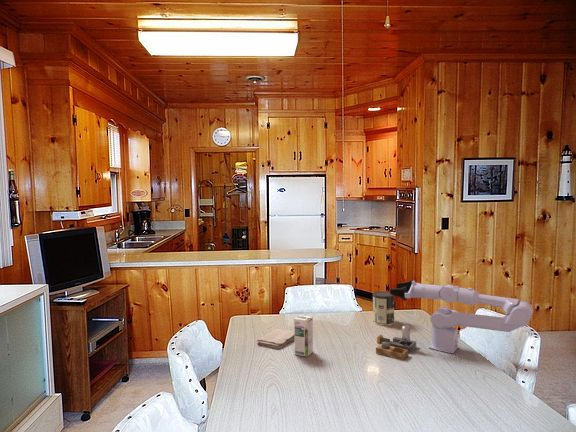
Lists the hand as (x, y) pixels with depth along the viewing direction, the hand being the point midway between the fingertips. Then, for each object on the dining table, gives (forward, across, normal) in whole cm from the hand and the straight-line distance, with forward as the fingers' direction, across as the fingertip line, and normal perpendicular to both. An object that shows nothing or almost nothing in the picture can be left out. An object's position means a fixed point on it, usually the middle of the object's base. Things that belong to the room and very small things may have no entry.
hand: (393, 288), depth 166 cm
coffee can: (+13, -14, +23) cm, 30 cm away
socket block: (-6, +11, +21) cm, 24 cm away
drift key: (+2, +11, +20) cm, 23 cm away
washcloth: (+41, +32, +16) cm, 55 cm away
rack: (-5, +20, +20) cm, 28 cm away
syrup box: (+24, +38, +16) cm, 48 cm away
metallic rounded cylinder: (-7, +11, +21) cm, 25 cm away
